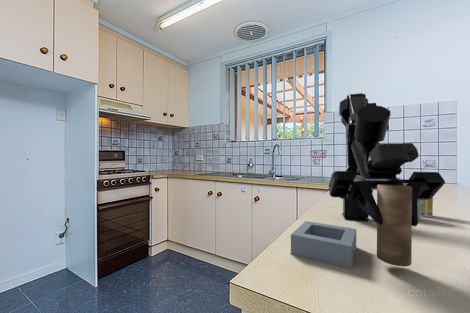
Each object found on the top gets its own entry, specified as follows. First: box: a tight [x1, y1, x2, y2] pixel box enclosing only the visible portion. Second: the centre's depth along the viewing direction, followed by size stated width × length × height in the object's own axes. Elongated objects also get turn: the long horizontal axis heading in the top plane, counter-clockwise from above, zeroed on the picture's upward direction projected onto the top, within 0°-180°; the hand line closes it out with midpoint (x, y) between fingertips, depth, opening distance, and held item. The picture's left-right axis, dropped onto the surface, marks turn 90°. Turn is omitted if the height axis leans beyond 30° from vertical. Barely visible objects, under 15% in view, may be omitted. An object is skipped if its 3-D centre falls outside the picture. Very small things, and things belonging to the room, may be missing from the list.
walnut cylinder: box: [376, 184, 413, 267], centre depth 39 cm, size 5×5×13 cm
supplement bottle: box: [421, 196, 434, 218], centre depth 74 cm, size 5×5×10 cm
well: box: [290, 220, 357, 270], centre depth 47 cm, size 11×11×4 cm
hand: (398, 224), depth 38 cm, fingers closed on walnut cylinder, 5 cm apart
